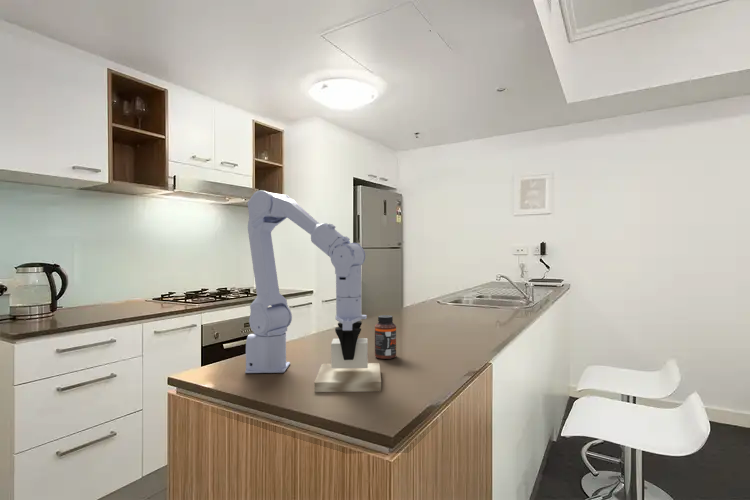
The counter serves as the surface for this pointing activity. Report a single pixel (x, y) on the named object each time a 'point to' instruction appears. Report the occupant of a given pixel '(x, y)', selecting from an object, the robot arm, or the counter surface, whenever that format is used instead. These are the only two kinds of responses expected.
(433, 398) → the counter surface
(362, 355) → the housing
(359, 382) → the stand
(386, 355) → the supplement bottle
